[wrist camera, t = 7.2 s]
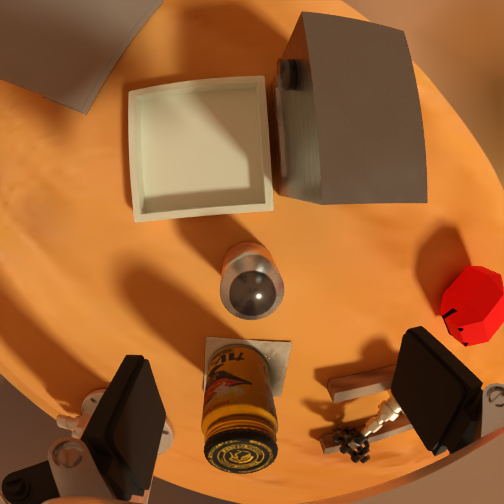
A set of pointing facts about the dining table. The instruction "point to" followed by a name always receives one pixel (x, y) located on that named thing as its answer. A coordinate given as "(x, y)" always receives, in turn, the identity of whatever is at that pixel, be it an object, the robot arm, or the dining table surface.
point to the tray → (199, 148)
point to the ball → (474, 305)
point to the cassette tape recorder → (67, 44)
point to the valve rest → (357, 388)
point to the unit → (348, 115)
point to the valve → (365, 430)
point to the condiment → (242, 402)
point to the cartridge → (250, 282)
